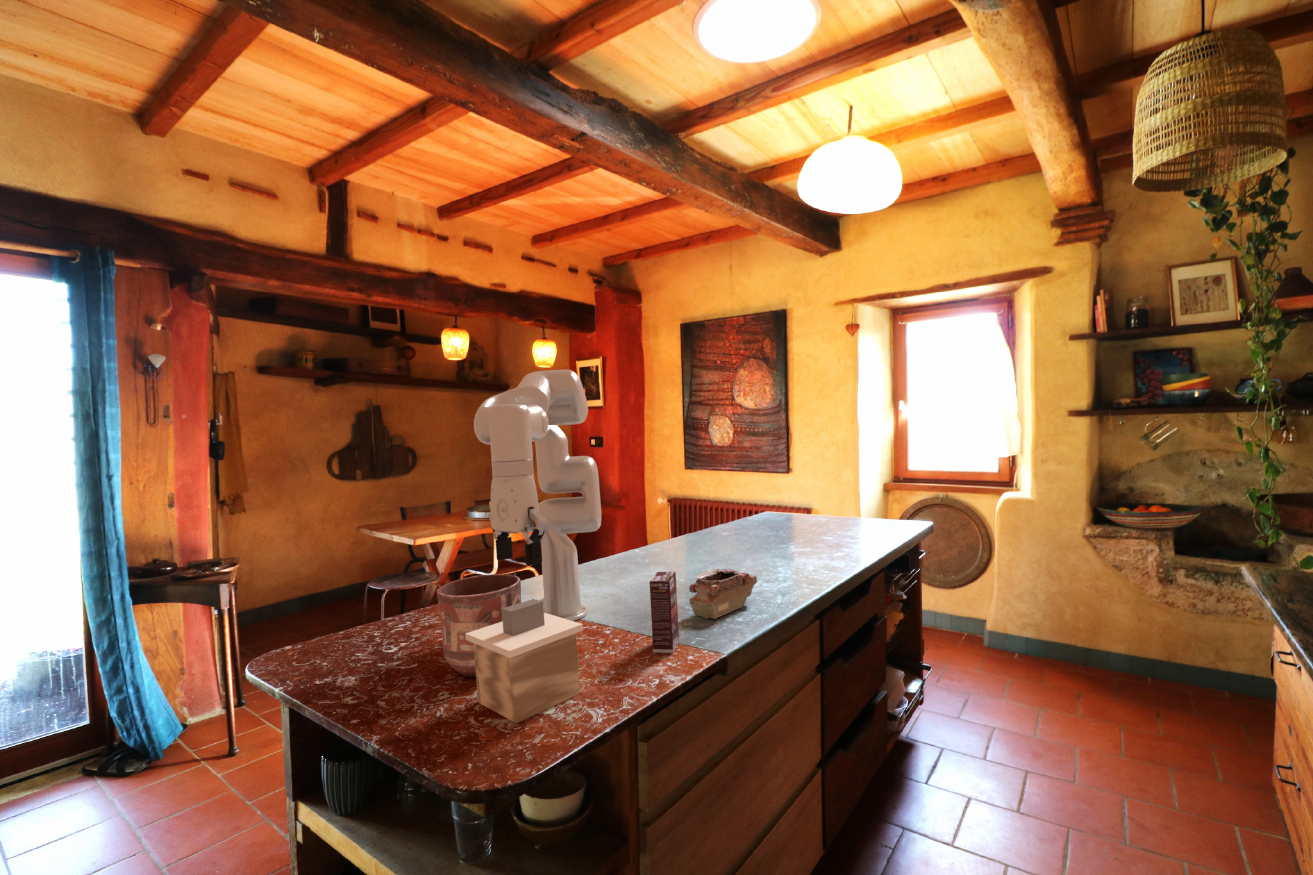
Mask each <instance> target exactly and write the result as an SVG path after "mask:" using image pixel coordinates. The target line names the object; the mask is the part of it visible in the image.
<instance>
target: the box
mask: <svg viewBox="0 0 1313 875" xmlns="http://www.w3.org/2000/svg"><path fill="white" fill-rule="evenodd" d="M577 646H578V643H577V633H575V634H572V635H570V636H567V637H564V638H562V639H559V640H556V641H554V642H551V643H548V644H546V645H543V646H540V647H538V648H535V649H533V650H530V651H527V652H525V653H522V654H519V655H517V656H514V657H511V658H509V657H506V656H504V655H501V654H499V653H496V652H494V651H492V650H489V649H487V648H484V647H482V646H480V645H477V644H475V643H474V655H475V669H476V678H475V680H476V694H477V703H479V704H480V705H482V706H483V707H485V708H488V709H489V710H491V711H492V712H495V713H497V714H498V715H500V716H503V717H504V718H506V719H508V720H509V721H510V722H513V723H515V724H518V723H520V722H523V721H525V720H527V719H529V718H531V717H533V716H536V715H537V714H539V713H542V712H544V711H546V710H548V709H550V708H552V707H554V706H556V705H559V704H560V703H563V702H565V701H568V700H569V699H571V698H573V697H575V696H577V695H580V694H581V690H580V689H581V687H580V675H579V660H578V647H577Z"/></svg>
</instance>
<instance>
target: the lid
mask: <svg viewBox="0 0 1313 875" xmlns="http://www.w3.org/2000/svg"><path fill="white" fill-rule="evenodd" d="M502 619H503V621H502V622H499V623H496V624H493V625H490V626H487V627H484V628H481V629H478V630H475V631H471V632H468V633H465V636H466V640H467V641H470V642H472V643H475V644H477V645H480V646H482V647H484V648H487V649H489V650H492V651H494V652H496V653H499V654H501V655H504V656H506V657H509V658H511V657H514V656H517V655H519V654H522V653H525V652H527V651H530V650H533V649H535V648H538V647H540V646H543V645H546V644H548V643H551V642H554V641H556V640H559V639H562V638H564V637H567V636H570V635H572V634H575V633H576V634H577V633H581V632H583V631H584V624H583V623H581V622H577V621H575V620H574V621H571V620H567V619H564V618H561V617H557V616H554V615H550V614H547V613H544V605H543V601H540V599H535V598H532V599H529V600H528V599H527V600H526V601H521V603H519V604H515V605H512V606H509V607H505V608H502Z"/></svg>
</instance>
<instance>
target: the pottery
mask: <svg viewBox="0 0 1313 875" xmlns="http://www.w3.org/2000/svg"><path fill="white" fill-rule="evenodd" d="M521 582H522V581H521V578H520V577H519V576H517V575H514V574H508V573H507V574H505V573H504V574H503V573H502V574H501V573H496V574H495V573H493V574H492V573H491V574H482V575H474V576H473V575H472V576H470V577H464V578H460V579H456V580H453V581H450V582H447V583H446V584H443V585H441V587H439V588H438V589H436V599H437V602H438V608H439V613H440V619H441V627H442V629H441V630H442V652H443V656H444V659H445V661H446V663H447V664H448V665H449V666H450V668H452V670H455V671H456V672H457V673H458V674H460V675H462V676H463V677H468V678H469V677H470V678H471V677H472V678H473V677H476V669H475V655H474V643H472V642H470V641H467V640H466V636H465V633H468V632H471V631H475V630H478V629H481V628H484V627H487V626H490V625H493V624H496V623H499V622H502V621H503V619H502V608H505V607H509V606H512V605H515V604H519V603H522V584H521Z"/></svg>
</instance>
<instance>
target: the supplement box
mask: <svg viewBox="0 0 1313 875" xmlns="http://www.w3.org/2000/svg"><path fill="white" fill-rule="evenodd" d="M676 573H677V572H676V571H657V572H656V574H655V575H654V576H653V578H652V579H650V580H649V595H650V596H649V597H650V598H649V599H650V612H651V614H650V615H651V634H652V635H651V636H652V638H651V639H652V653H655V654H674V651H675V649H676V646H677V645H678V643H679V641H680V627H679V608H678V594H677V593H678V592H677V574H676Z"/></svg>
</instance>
